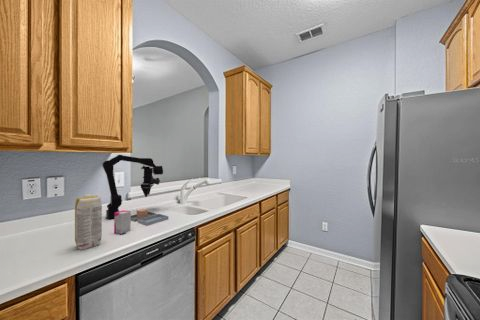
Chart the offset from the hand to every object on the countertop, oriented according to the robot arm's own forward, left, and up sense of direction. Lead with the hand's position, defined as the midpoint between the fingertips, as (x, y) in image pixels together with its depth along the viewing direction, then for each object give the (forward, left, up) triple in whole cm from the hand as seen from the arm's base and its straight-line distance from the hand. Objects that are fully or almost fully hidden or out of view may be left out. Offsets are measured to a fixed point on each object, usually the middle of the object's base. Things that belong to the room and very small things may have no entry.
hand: (147, 195), depth 143 cm
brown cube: (-9, -8, -13) cm, 17 cm away
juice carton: (-46, -27, -13) cm, 55 cm away
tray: (-9, -21, -13) cm, 27 cm away
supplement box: (-29, -23, -13) cm, 39 cm away
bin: (-9, -8, -13) cm, 18 cm away
